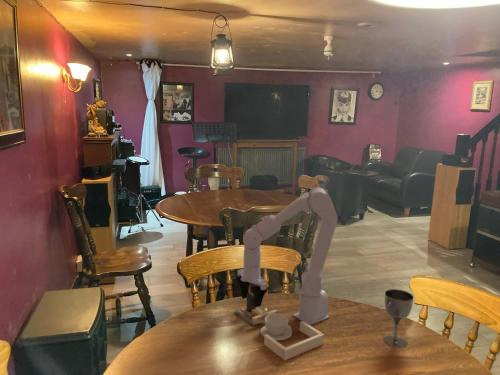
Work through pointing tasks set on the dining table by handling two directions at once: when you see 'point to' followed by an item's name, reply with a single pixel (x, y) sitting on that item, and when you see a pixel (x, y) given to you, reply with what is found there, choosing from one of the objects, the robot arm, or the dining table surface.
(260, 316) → the pushrod
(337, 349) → the dining table surface
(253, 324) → the rail
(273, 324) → the teacup
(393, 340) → the wine glass
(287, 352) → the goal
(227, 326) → the dining table surface
